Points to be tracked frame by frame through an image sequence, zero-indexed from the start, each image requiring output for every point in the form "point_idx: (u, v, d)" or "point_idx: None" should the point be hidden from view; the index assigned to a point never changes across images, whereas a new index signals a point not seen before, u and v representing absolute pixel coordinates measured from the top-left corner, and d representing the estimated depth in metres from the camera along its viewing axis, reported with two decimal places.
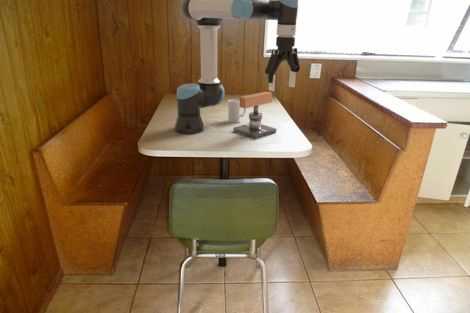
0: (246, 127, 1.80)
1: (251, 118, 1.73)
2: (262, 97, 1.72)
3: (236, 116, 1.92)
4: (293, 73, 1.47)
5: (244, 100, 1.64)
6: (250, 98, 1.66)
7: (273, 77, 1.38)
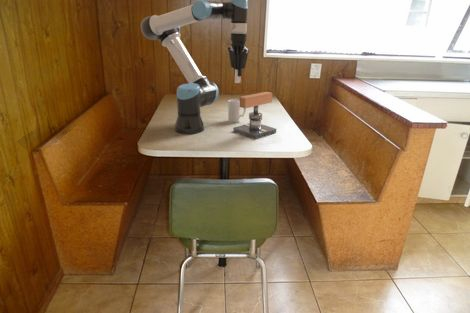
0: (246, 127, 1.80)
1: (251, 118, 1.73)
2: (262, 97, 1.72)
3: (236, 116, 1.92)
4: None
5: (244, 100, 1.64)
6: (250, 98, 1.66)
7: (235, 71, 1.68)
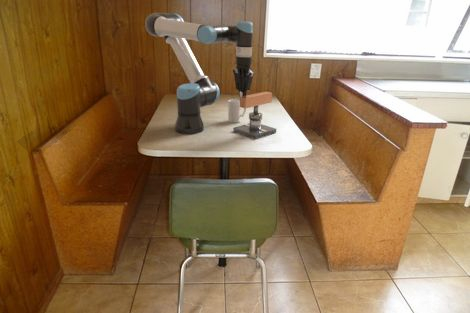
0: (246, 127, 1.80)
1: (251, 118, 1.73)
2: (262, 97, 1.72)
3: (236, 116, 1.92)
4: None
5: (244, 100, 1.64)
6: (250, 98, 1.66)
7: (240, 93, 1.70)
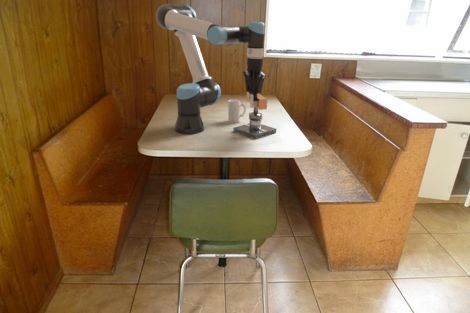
0: (246, 127, 1.80)
1: (258, 118, 1.73)
2: None
3: (236, 116, 1.92)
4: None
5: (265, 101, 1.63)
6: None
7: None
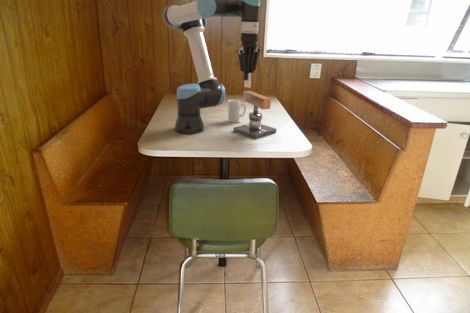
0: (246, 127, 1.80)
1: (259, 118, 1.73)
2: None
3: (236, 116, 1.92)
4: None
5: (269, 101, 1.64)
6: None
7: (248, 75, 1.52)
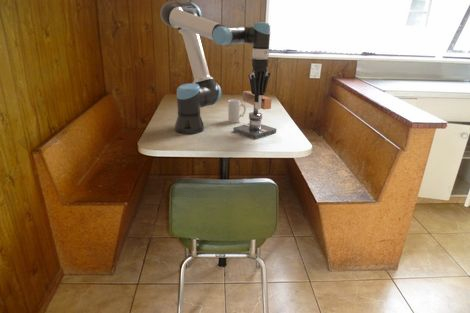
0: (246, 127, 1.80)
1: (259, 118, 1.73)
2: None
3: (236, 116, 1.92)
4: None
5: (270, 101, 1.64)
6: None
7: (258, 97, 1.62)
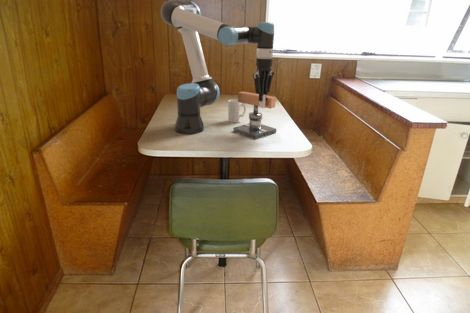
0: (246, 127, 1.80)
1: (261, 118, 1.74)
2: None
3: (236, 116, 1.92)
4: None
5: (274, 99, 1.67)
6: None
7: (262, 96, 1.63)
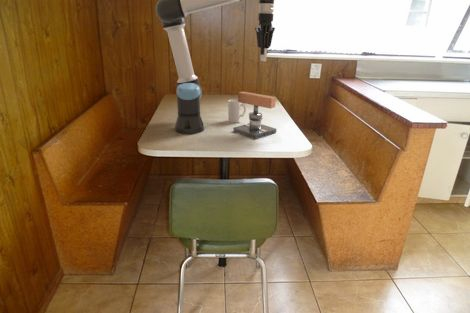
0: (246, 127, 1.80)
1: (261, 118, 1.74)
2: None
3: (236, 116, 1.92)
4: None
5: (274, 99, 1.67)
6: None
7: (264, 50, 1.77)
